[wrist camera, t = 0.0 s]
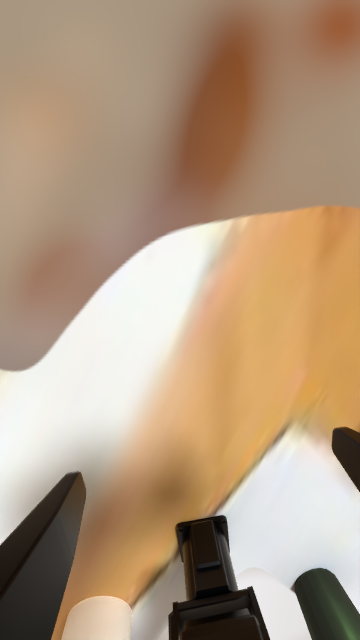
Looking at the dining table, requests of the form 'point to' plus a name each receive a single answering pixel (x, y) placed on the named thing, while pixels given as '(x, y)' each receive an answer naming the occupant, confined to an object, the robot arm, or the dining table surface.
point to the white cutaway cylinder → (99, 620)
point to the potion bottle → (327, 607)
